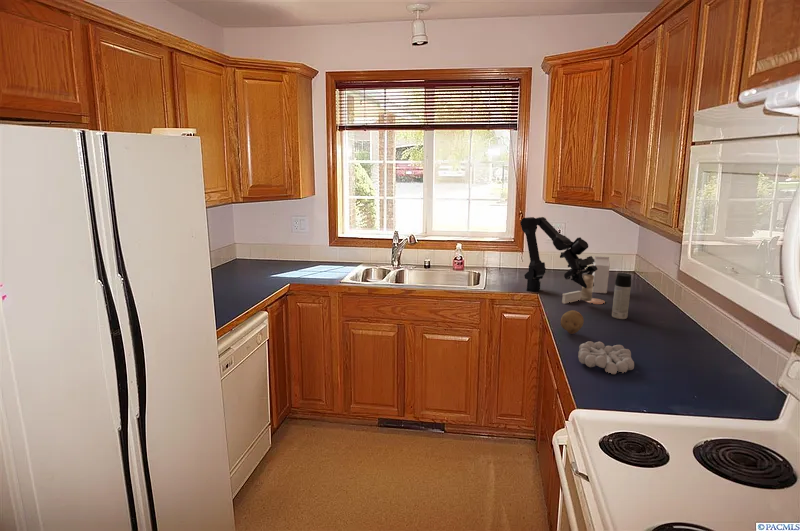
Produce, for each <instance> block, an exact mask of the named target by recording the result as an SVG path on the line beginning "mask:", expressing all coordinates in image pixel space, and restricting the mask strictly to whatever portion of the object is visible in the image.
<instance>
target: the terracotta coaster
mask: <svg viewBox="0 0 800 531" xmlns="http://www.w3.org/2000/svg"><path fill="white" fill-rule="evenodd" d="M585 302H586V303H588V304H591V303H593V304H592V305H604V304H605V303H606V300H603V299H601V298H595V297H592V300H591V301H585ZM603 303H604V304H603Z"/></svg>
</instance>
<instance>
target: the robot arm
mask: <svg viewBox="0 0 800 531" xmlns="http://www.w3.org/2000/svg"><path fill="white" fill-rule="evenodd" d="M519 224H520V227H521V230H522V232H523V233H524V235H525V238H526V241H527V242H526V243H527V249H528V254H529V265H528V271H526V273H524V280H525V279H526V280H527V282H526V289H525V290H526V292H528V291H529V292H540V290H541V281H540V280H541V279H543V278H544V275H545V274H546V271H547V268H546V264H545V262H542V261H541V259H540V258H541V257H540V252H539V247H538V241H537V235H536V232H537V229H538V227H539V228H540V229H541V230H542V231H543V232H544V233H545V234H546V235H547V236H548V237H549V238H550V240H551V241H552V245H553V247H554V248H555V249H556V250H557V251H560V255H559V258H560V259H562V258H564V259H565V261H566V263H567V264H568V265H567V268H569V270H567V271H566V272H565V273H564V275H563V277H564V279H565V281H568V280H571V281H573V282H574V283H576V284H578V285H579V286H581V287H582V286H583V287H584V288H587V285H586V283H585V281H584V280H583V275H584V274H590V275H592V274H593V273H594V272H595V271H596V270H597V267H596V266H595V265H593V262H594V259H595V258H594V257H593V256H592V255H591V256H587V257H586V258H580V257H579V256H580V255H582V254H583V253H584V252H585V251H586V250H587V249H589V243H588V242H587V241H586V240H584V239H583V238H582V237H577V238H576V239H575V240H574V241H571V239H570V238H569V237H567V236H566V235H563V234H561V233H559V232H558V230H557V229H556V228H555V227H554V226H553V225H552V224H551V223H550V222H549V221H548V220H547V218H546V217H545V216H544V217H543V216H541V217H540V216H539V217H534V216H532V217H531V216H530V217H523V218H522V219H521V220H520V223H519ZM561 251H563V252H561ZM593 286H594V282H593Z"/></svg>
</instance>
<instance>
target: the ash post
mask: <svg viewBox="0 0 800 531" xmlns="http://www.w3.org/2000/svg"><path fill="white" fill-rule="evenodd" d="M582 278H583V280H584V281H585V283H586V285H587V288H584V287H583V286H581V290H580V291H581V299H580V301H584V302H586V301H591V300H592V298H593V292H592V291H593V281H594V275H590V274H584V275H583V274H582Z"/></svg>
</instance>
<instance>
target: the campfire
mask: <svg viewBox="0 0 800 531" xmlns="http://www.w3.org/2000/svg"><path fill="white" fill-rule="evenodd" d="M577 353H578V355H577V356H578V361H579V363H581V364H583V365H586V366H587V367H589V368H594V367H596V366H597V367H599V368H602V369H604V371H605V372H606V373H607V372H608V373H607V374H609V373H611V374H610V375H616V374H617V373H619V372H622V373H621V374H624V372H625V373H627V372H628V371H632V370H634V368H635V361H634V360H633V358H632V352H631V350H630V349H629V348H625V347H624V346H623V345H622V344H616V345H615V344H614V345H613V346H612V345H605V343H603V342H602V341H596V342H593V341H589V340H588V341H586V342H584V343H580V345H579V351H578V352H577ZM617 371H618V372H617Z"/></svg>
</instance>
